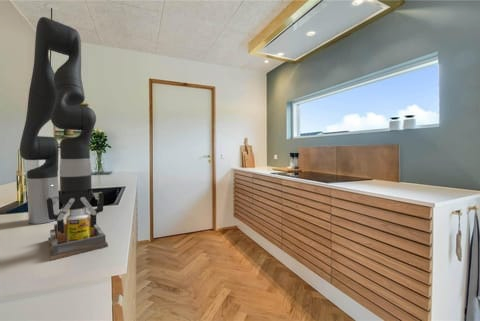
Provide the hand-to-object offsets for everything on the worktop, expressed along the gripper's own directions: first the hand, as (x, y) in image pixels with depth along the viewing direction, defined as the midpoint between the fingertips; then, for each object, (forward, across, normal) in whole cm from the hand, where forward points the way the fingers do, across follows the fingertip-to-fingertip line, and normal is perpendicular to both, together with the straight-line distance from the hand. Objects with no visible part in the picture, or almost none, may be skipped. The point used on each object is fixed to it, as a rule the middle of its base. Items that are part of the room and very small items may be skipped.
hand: (77, 229), depth 68 cm
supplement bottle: (+4, 0, 0) cm, 4 cm away
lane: (+5, 0, -1) cm, 5 cm away
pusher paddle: (+4, 0, -3) cm, 5 cm away
